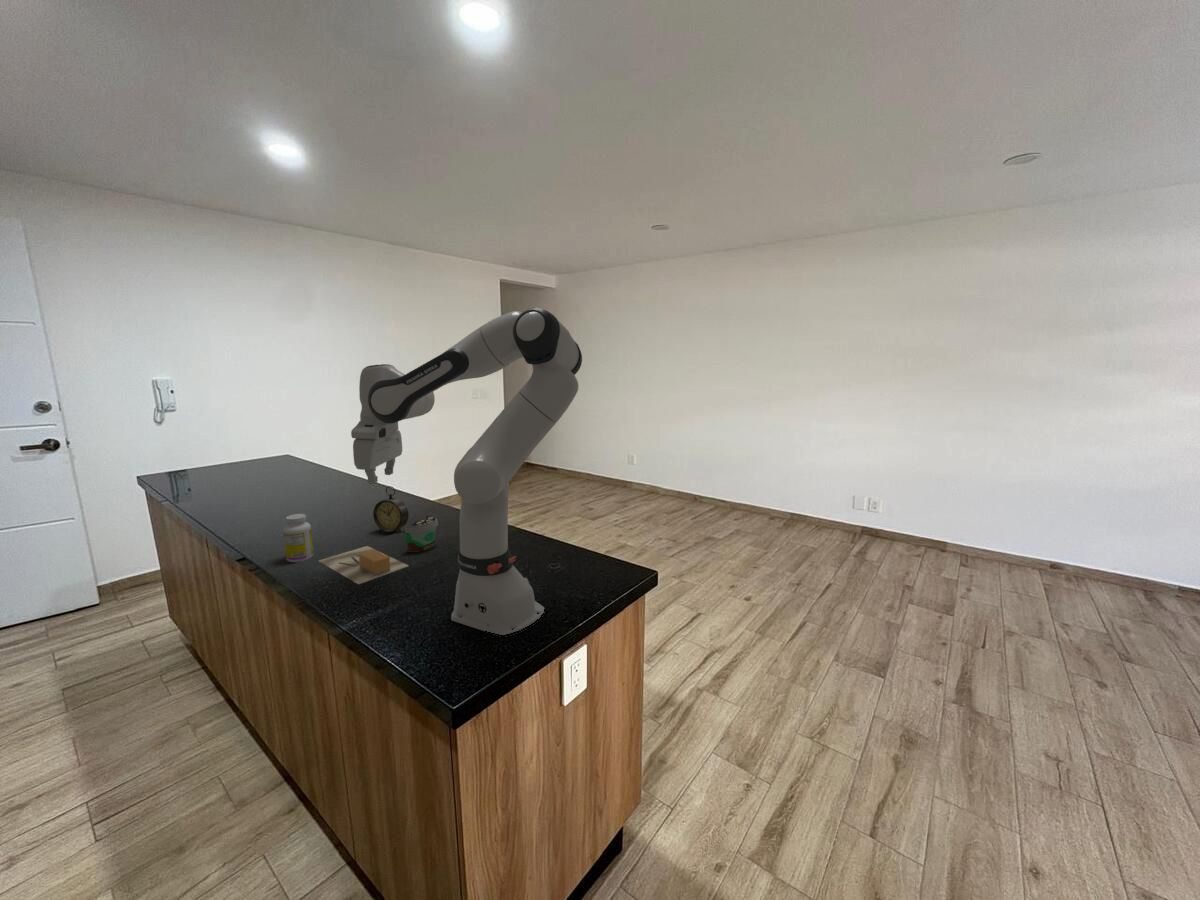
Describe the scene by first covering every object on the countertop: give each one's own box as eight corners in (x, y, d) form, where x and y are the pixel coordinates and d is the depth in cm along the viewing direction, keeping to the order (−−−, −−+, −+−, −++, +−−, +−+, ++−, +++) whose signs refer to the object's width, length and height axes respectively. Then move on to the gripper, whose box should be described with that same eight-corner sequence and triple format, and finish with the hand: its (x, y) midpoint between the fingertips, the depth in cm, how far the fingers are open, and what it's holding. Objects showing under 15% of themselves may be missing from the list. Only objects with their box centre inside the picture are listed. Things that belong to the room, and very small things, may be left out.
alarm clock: (373, 533, 152) (370, 486, 149) (384, 527, 157) (382, 482, 154) (401, 537, 150) (399, 490, 147) (412, 531, 155) (410, 485, 152)
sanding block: (390, 571, 122) (389, 557, 122) (375, 576, 119) (374, 562, 118) (374, 562, 127) (373, 549, 126) (359, 567, 124) (359, 554, 123)
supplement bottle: (302, 552, 136) (298, 511, 133) (319, 555, 134) (315, 514, 131) (280, 561, 129) (276, 518, 127) (297, 564, 127) (293, 521, 125)
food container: (424, 560, 133) (423, 528, 131) (405, 558, 134) (404, 526, 132) (446, 544, 145) (445, 515, 143) (429, 542, 146) (428, 513, 144)
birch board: (409, 570, 126) (409, 565, 126) (359, 589, 115) (358, 584, 115) (367, 550, 138) (367, 545, 138) (318, 565, 127) (317, 560, 127)
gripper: (385, 421, 128) (386, 469, 130) (347, 432, 108) (349, 488, 110) (407, 422, 128) (408, 470, 131) (373, 433, 108) (375, 489, 111)
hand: (381, 478), depth 120 cm, fingers open, 8 cm apart
